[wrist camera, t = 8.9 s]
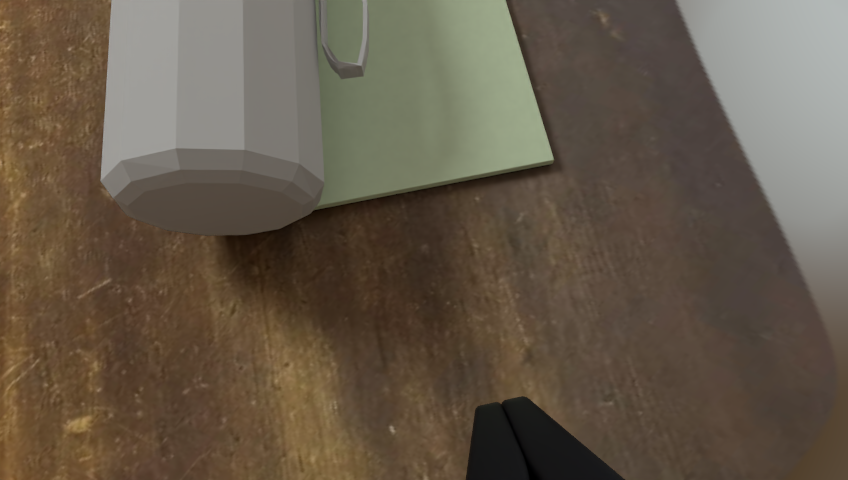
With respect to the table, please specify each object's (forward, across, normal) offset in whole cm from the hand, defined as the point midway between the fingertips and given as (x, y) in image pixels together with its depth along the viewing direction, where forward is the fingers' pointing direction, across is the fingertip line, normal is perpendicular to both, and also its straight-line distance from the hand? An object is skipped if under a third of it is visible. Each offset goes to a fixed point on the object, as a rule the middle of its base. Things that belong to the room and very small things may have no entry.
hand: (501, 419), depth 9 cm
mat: (+22, 0, -5) cm, 22 cm away
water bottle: (+11, +6, 0) cm, 13 cm away
